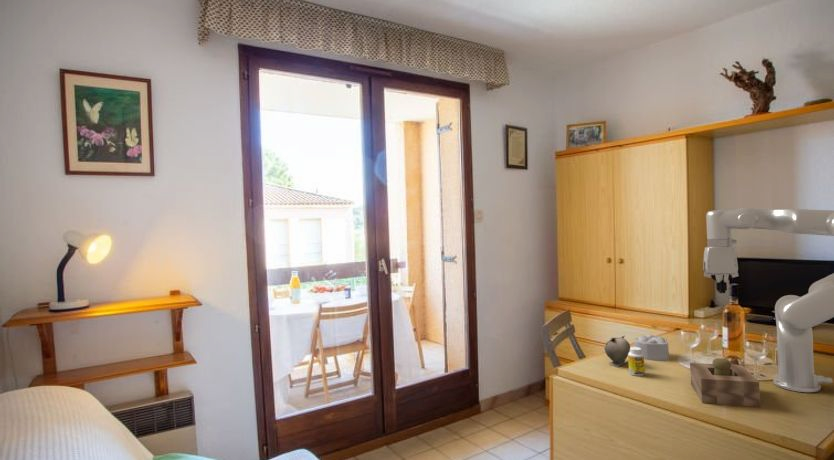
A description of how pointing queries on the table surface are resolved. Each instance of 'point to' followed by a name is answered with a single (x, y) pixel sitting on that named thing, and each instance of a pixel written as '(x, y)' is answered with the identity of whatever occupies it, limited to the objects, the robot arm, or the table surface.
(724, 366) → the olive pear shape
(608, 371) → the table surface
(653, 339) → the white egg tray
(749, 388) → the brown square frame
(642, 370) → the supplement bottle
